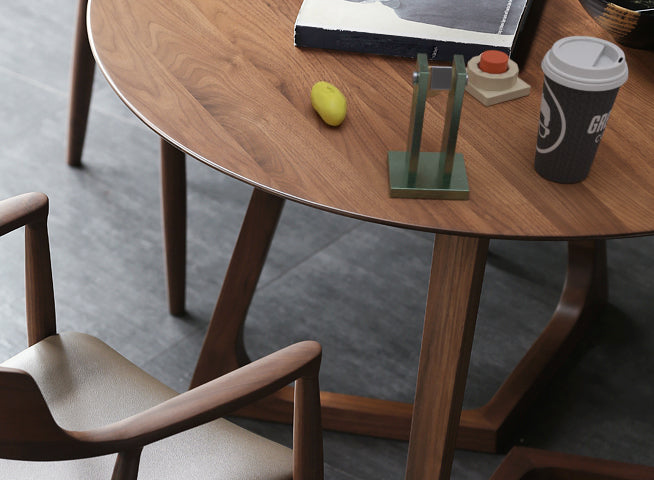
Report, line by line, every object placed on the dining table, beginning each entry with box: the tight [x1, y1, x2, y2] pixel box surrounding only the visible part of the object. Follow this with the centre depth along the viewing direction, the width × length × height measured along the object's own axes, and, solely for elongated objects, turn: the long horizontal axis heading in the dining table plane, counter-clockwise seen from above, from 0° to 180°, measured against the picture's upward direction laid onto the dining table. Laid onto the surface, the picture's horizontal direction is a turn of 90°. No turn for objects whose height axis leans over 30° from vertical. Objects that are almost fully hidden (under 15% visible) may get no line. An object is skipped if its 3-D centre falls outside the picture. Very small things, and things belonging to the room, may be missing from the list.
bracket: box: [386, 53, 470, 201], centre depth 121 cm, size 8×9×15 cm
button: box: [479, 49, 510, 74], centre depth 141 cm, size 4×4×2 cm
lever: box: [426, 65, 452, 99], centre depth 122 cm, size 12×4×4 cm, turn 179°
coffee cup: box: [533, 35, 629, 185], centre depth 124 cm, size 10×10×15 cm
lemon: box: [310, 80, 348, 127], centre depth 135 cm, size 4×8×4 cm, turn 12°
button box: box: [464, 54, 532, 107], centre depth 142 cm, size 8×7×3 cm
